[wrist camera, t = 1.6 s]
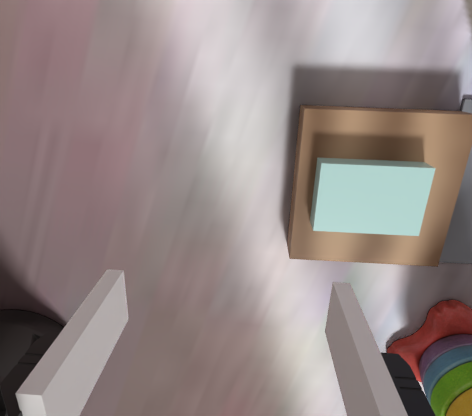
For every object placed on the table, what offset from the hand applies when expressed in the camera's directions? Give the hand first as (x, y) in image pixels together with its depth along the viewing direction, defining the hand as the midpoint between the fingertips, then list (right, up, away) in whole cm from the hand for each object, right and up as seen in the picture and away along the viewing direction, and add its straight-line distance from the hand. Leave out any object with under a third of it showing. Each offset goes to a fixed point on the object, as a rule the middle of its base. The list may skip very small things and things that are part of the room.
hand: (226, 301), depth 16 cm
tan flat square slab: (+13, +7, +18) cm, 23 cm away
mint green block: (+12, +6, +15) cm, 20 cm away
